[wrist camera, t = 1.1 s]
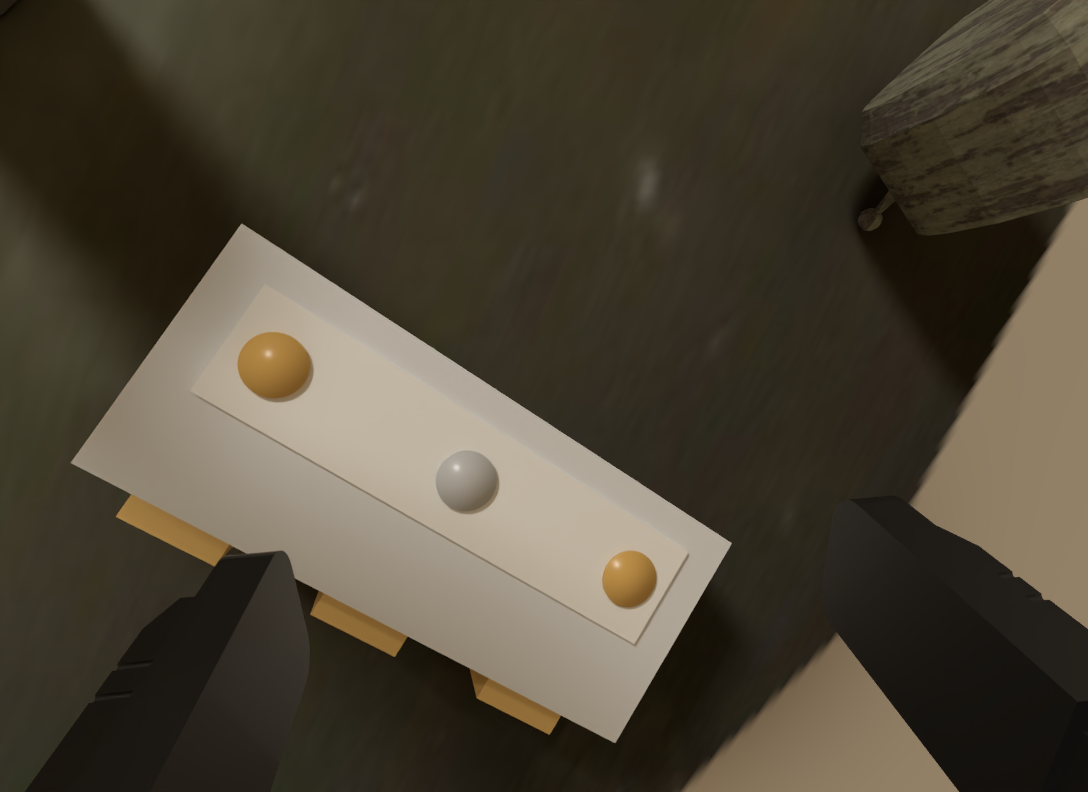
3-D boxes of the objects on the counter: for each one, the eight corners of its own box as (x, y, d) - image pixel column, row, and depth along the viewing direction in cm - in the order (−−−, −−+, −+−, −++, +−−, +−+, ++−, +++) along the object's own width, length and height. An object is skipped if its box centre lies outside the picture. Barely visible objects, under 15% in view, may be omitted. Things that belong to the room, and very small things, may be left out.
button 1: (163, 491, 29) (115, 516, 24) (199, 440, 30) (158, 455, 25) (245, 533, 30) (214, 566, 25) (278, 484, 31) (254, 507, 26)
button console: (184, 429, 34) (63, 465, 21) (294, 271, 35) (238, 220, 22) (551, 632, 39) (619, 749, 27) (635, 492, 40) (737, 546, 28)
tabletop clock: (856, 257, 44) (1419, 122, 20) (789, 158, 42) (1317, -125, 18) (975, 140, 46) (1615, -110, 22) (916, 42, 44) (1540, -350, 20)
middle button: (324, 575, 32) (310, 614, 27) (355, 526, 32) (347, 557, 27) (395, 612, 33) (394, 656, 28) (424, 565, 33) (429, 601, 28)
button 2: (464, 648, 34) (476, 698, 29) (493, 603, 34) (509, 644, 29) (527, 681, 35) (549, 734, 30) (554, 636, 35) (580, 682, 30)
